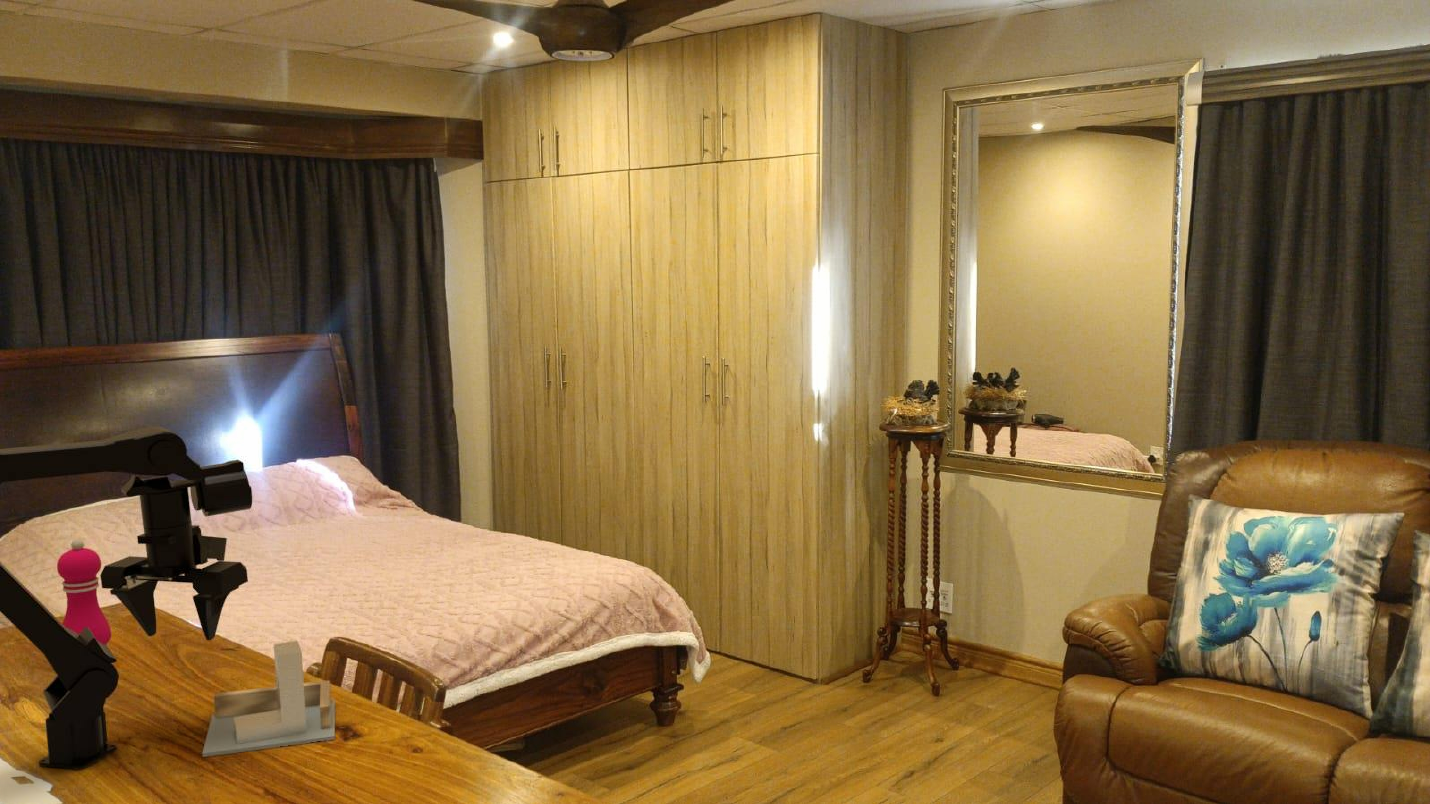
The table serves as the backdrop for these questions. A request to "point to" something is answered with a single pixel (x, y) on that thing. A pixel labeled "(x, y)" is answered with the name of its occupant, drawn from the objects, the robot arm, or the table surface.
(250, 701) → the board walls
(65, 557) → the pepper mill
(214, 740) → the slate board
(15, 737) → the table surface
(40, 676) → the table surface
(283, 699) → the bracket
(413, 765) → the table surface
